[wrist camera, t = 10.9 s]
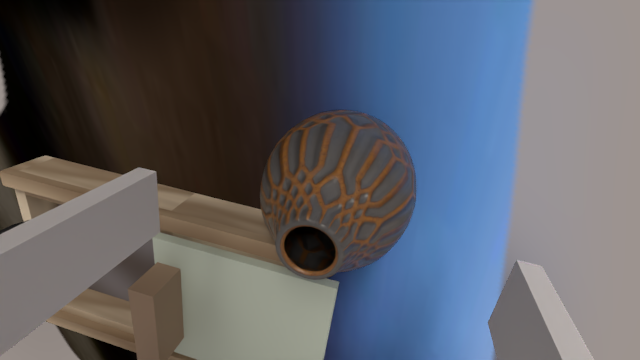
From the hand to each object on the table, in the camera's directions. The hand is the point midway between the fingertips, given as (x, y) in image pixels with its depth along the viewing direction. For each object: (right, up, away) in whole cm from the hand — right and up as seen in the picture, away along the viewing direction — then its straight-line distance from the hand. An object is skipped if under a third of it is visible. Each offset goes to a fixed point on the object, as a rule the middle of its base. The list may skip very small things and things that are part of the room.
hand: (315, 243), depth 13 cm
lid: (-5, -6, +10) cm, 13 cm away
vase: (+2, +3, +7) cm, 8 cm away
